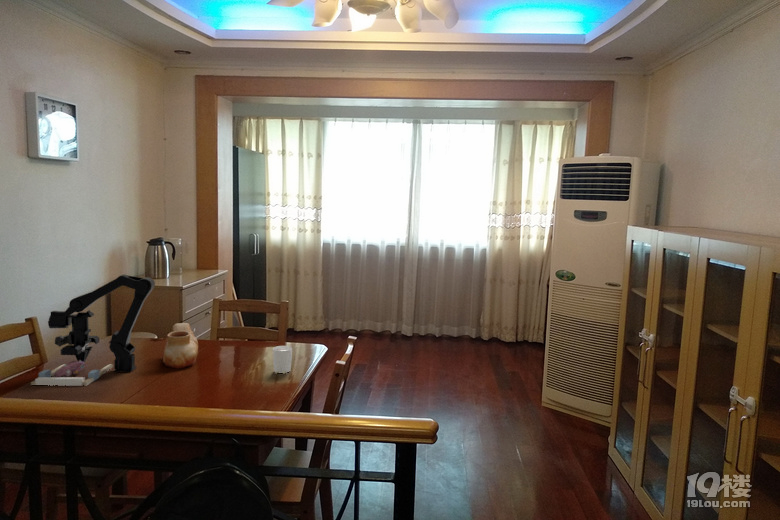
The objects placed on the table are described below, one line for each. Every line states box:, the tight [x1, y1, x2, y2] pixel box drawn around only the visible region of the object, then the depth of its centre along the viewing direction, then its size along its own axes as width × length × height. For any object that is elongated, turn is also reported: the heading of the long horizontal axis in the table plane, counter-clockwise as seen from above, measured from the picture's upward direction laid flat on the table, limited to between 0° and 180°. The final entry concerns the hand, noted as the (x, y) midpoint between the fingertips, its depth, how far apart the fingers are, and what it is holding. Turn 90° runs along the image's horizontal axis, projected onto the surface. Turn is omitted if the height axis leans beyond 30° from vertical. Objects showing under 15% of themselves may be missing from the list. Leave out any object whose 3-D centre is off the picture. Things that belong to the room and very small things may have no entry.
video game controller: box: [54, 360, 87, 377], centre depth 197 cm, size 10×5×7 cm, turn 161°
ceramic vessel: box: [162, 322, 199, 369], centre depth 221 cm, size 14×26×15 cm, turn 19°
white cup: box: [272, 345, 293, 373], centre depth 211 cm, size 8×8×10 cm
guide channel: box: [30, 363, 114, 387], centre depth 197 cm, size 20×22×3 cm
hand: (81, 366), depth 203 cm, fingers closed
